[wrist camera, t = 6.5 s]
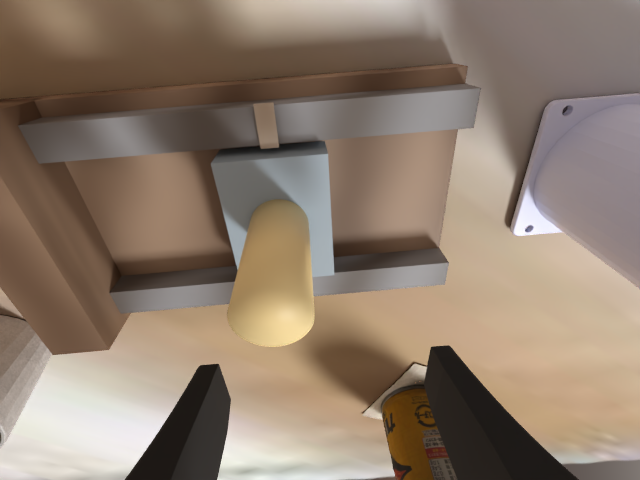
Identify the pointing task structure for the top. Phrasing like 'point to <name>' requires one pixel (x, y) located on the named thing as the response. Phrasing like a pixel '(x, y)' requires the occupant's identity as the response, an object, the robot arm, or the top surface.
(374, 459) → the top surface
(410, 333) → the top surface
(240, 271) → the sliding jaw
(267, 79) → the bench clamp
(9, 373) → the house plant
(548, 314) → the top surface
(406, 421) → the condiment
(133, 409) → the top surface
